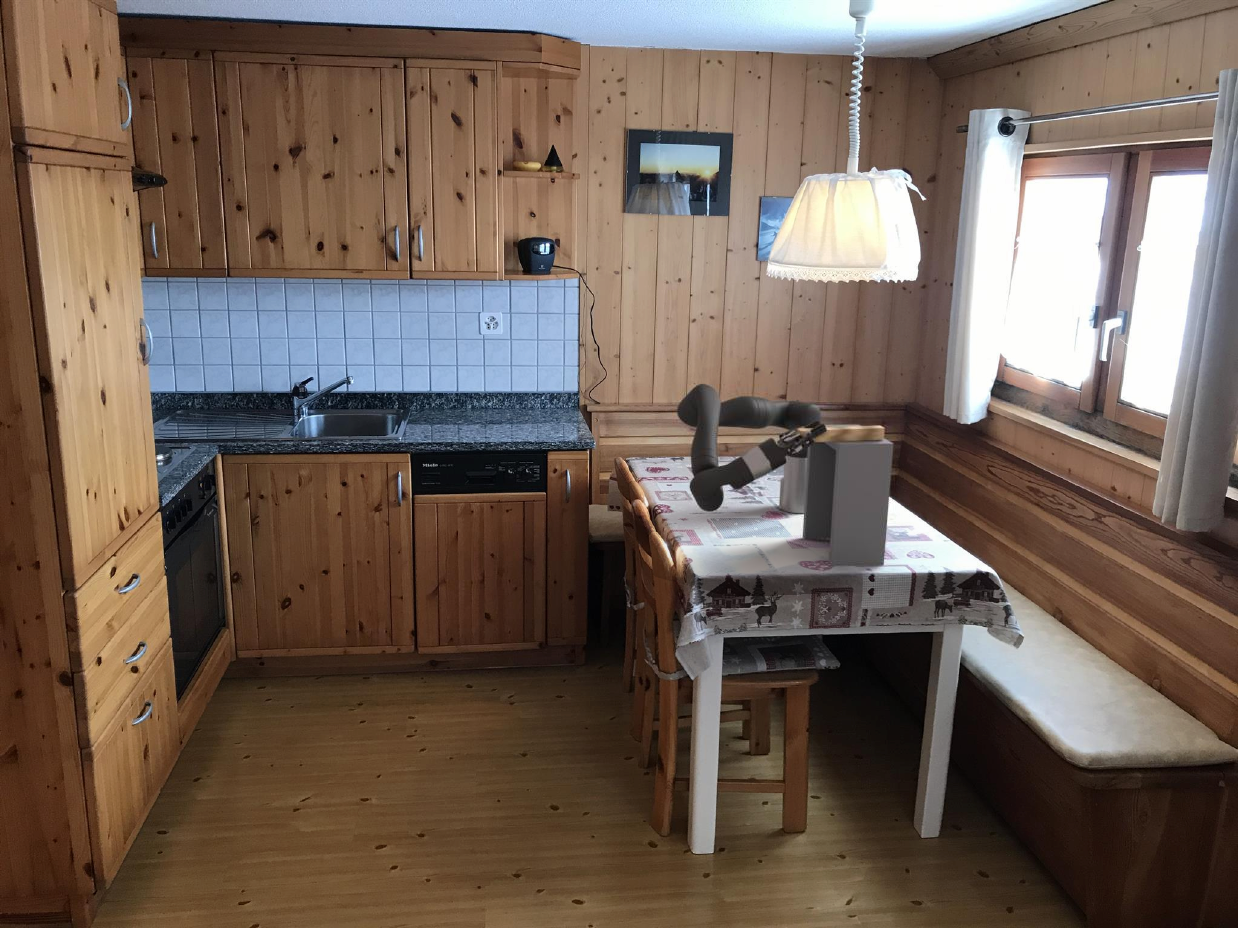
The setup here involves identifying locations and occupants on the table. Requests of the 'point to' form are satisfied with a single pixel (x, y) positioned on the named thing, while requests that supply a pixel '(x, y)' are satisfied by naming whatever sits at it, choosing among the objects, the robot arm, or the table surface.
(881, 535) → the gray shelf
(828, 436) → the wooden rod
